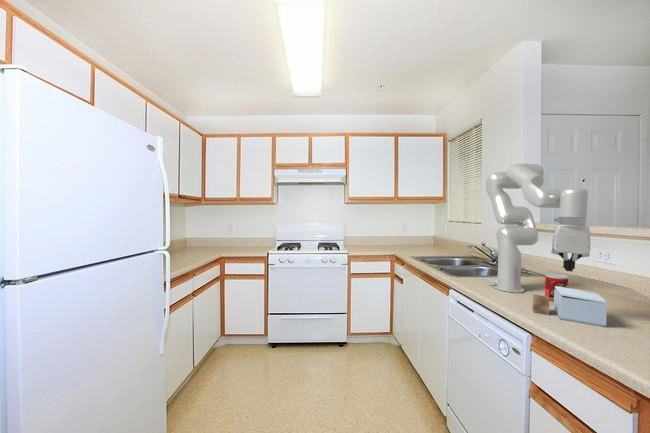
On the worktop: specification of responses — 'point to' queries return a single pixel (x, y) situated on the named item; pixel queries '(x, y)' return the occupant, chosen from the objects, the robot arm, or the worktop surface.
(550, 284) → the canned food
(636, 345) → the worktop surface
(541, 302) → the block
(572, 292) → the flap
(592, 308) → the carton
